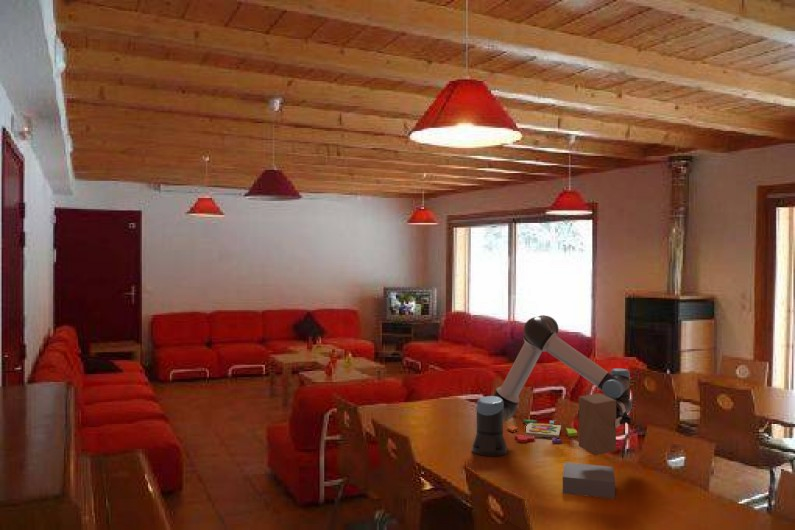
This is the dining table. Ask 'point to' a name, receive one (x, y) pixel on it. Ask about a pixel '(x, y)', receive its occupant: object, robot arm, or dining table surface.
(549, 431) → the pattern blocks set
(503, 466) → the dining table surface
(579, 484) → the plinth
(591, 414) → the wooden block
